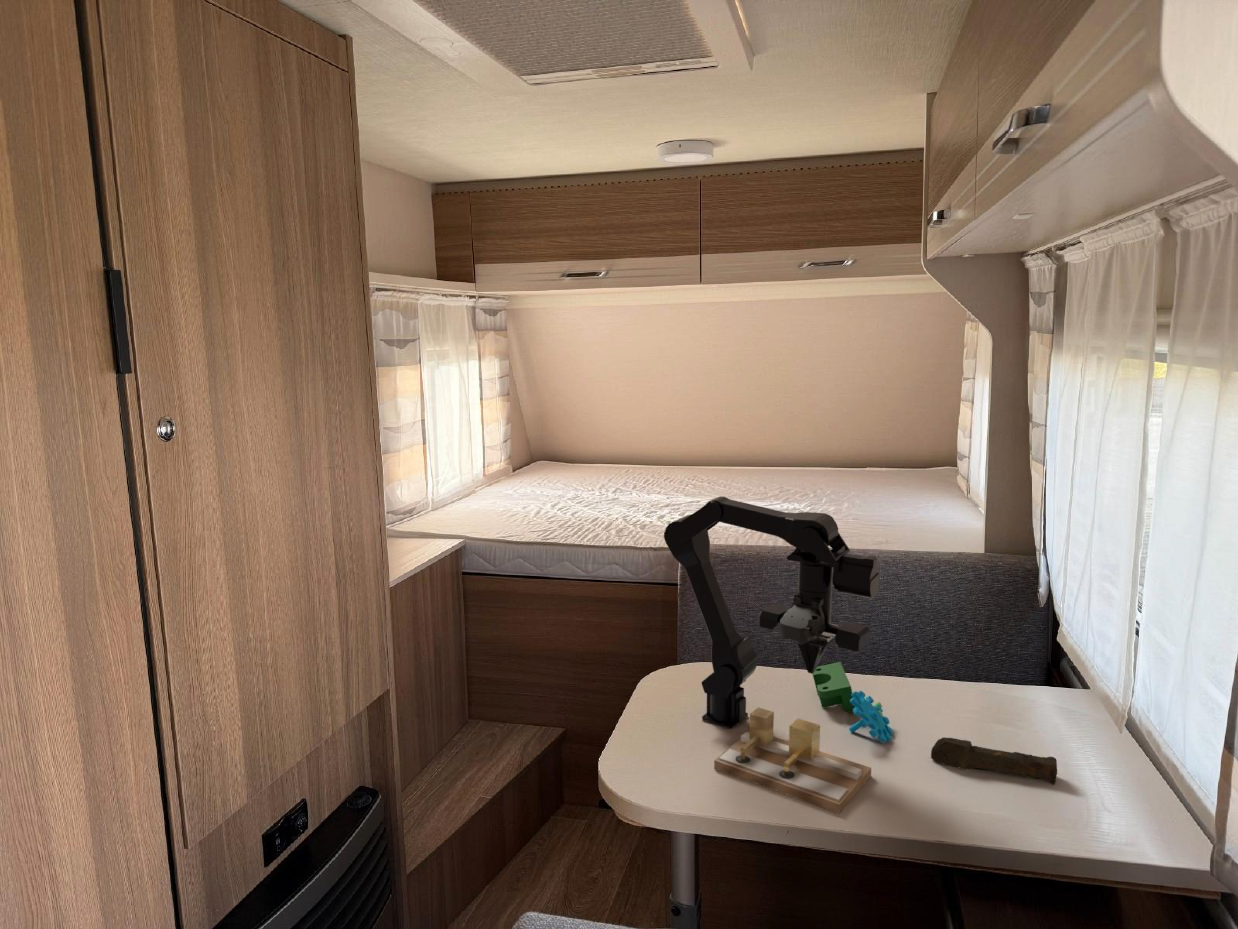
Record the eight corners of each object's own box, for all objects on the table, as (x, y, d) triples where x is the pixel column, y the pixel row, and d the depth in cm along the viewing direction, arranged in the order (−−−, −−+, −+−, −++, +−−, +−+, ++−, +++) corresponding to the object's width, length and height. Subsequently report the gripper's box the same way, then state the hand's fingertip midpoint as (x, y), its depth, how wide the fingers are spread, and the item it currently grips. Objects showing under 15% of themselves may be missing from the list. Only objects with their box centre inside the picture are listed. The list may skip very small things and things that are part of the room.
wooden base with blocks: (714, 768, 143) (714, 727, 141) (751, 737, 153) (752, 698, 152) (839, 813, 130) (841, 768, 128) (871, 776, 140) (872, 733, 138)
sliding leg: (774, 770, 138) (774, 738, 137) (797, 749, 145) (797, 718, 144) (796, 778, 136) (797, 746, 135) (819, 756, 142) (820, 725, 141)
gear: (886, 746, 146) (849, 696, 149) (860, 763, 149) (824, 713, 152) (903, 728, 155) (867, 681, 159) (878, 744, 158) (844, 698, 161)
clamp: (822, 713, 171) (810, 668, 173) (851, 707, 170) (839, 661, 172) (825, 718, 159) (813, 669, 162) (857, 711, 159) (844, 662, 161)
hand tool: (1055, 776, 140) (1057, 749, 139) (1056, 788, 136) (1059, 761, 135) (932, 754, 147) (933, 729, 146) (930, 765, 143) (932, 739, 143)
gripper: (743, 588, 146) (741, 674, 149) (847, 612, 134) (842, 704, 137) (774, 572, 154) (771, 653, 157) (874, 594, 143) (869, 681, 146)
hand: (811, 672), depth 149 cm, fingers closed
